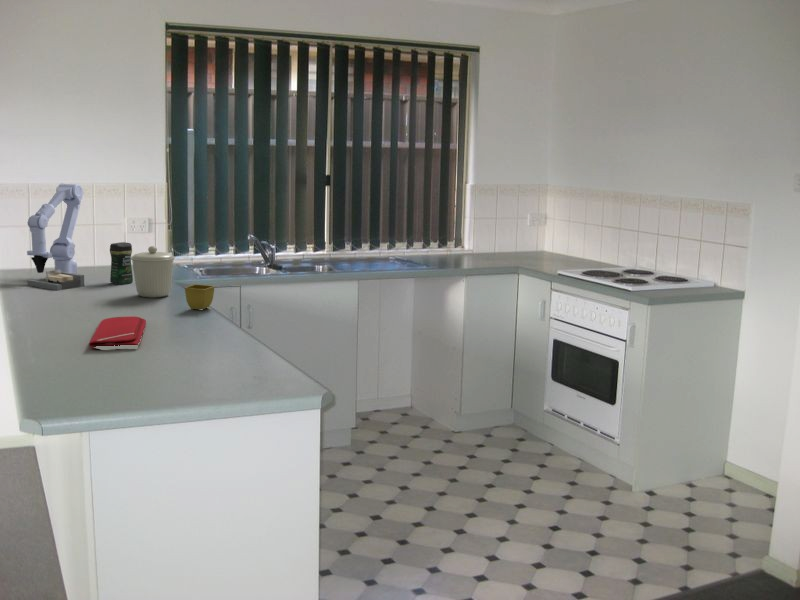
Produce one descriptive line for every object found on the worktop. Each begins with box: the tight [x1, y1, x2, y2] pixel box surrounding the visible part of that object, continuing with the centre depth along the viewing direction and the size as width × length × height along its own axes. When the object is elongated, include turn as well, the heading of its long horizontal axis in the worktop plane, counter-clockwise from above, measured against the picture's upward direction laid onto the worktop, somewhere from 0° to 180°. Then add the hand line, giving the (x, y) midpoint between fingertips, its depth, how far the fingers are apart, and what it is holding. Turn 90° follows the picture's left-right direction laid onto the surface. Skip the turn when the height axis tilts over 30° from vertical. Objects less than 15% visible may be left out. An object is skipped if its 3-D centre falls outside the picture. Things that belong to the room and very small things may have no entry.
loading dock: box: [26, 269, 85, 291], centre depth 392 cm, size 14×20×6 cm
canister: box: [130, 245, 176, 299], centre depth 373 cm, size 18×18×21 cm
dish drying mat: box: [88, 316, 147, 348], centre depth 301 cm, size 16×41×4 cm, turn 12°
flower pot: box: [184, 283, 215, 310], centre depth 349 cm, size 9×9×9 cm
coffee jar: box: [109, 241, 134, 285], centre depth 401 cm, size 10×8×19 cm
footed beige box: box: [45, 269, 73, 284], centre depth 390 cm, size 8×9×5 cm
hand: (40, 272), depth 397 cm, fingers closed
